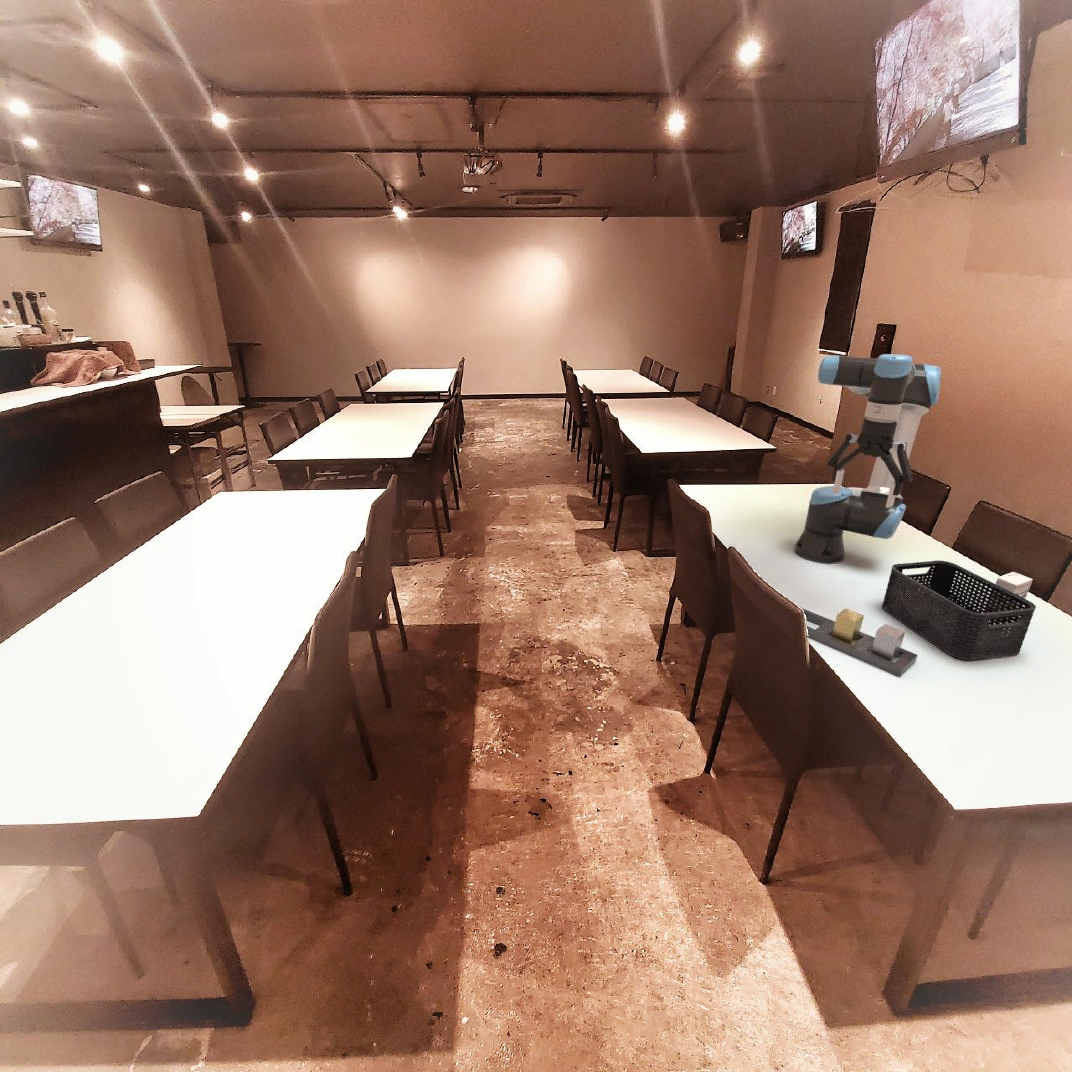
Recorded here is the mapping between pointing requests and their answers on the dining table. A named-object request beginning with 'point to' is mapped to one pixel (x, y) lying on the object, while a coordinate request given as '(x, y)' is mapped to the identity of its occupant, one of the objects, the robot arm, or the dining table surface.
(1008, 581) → the ink box
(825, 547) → the robot arm
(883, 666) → the rail
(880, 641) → the light grey block
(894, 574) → the storage bin
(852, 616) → the maple wood beam
